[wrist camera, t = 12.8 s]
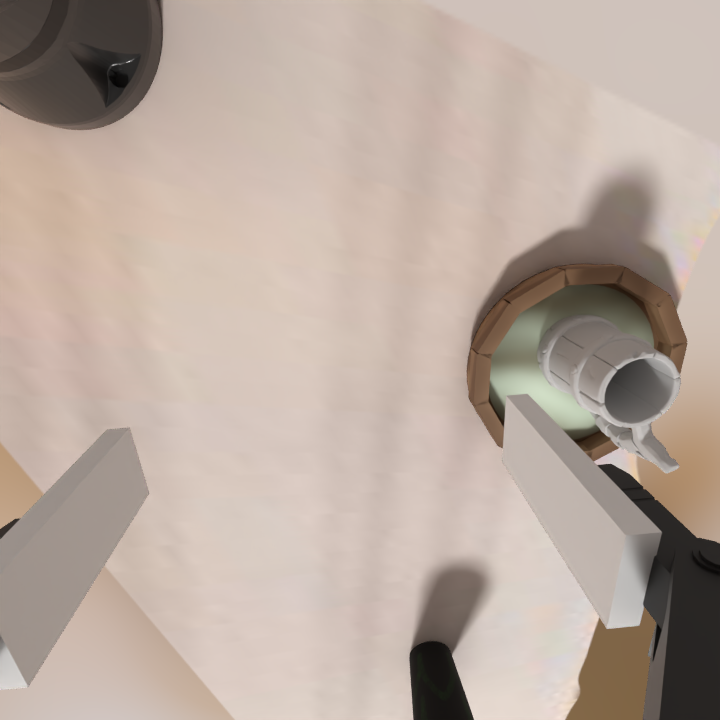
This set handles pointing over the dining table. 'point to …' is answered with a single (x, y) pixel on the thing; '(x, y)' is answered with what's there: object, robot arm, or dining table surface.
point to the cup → (436, 684)
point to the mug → (612, 381)
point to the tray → (537, 314)
